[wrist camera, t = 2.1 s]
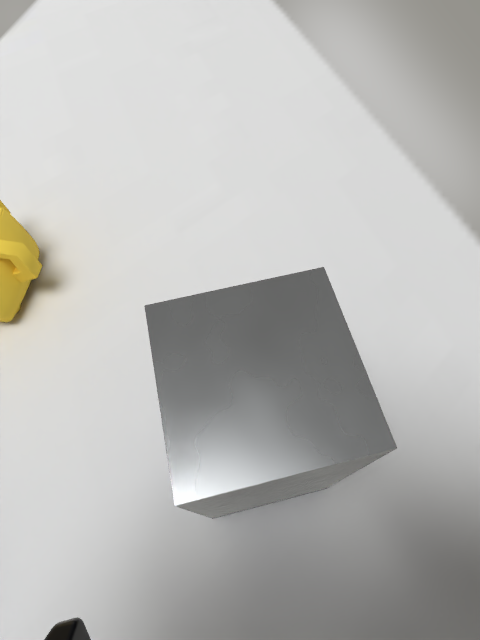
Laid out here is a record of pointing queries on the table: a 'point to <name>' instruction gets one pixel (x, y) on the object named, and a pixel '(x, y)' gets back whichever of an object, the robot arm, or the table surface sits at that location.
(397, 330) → the table surface
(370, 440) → the brushed steel square block
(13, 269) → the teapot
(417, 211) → the table surface
